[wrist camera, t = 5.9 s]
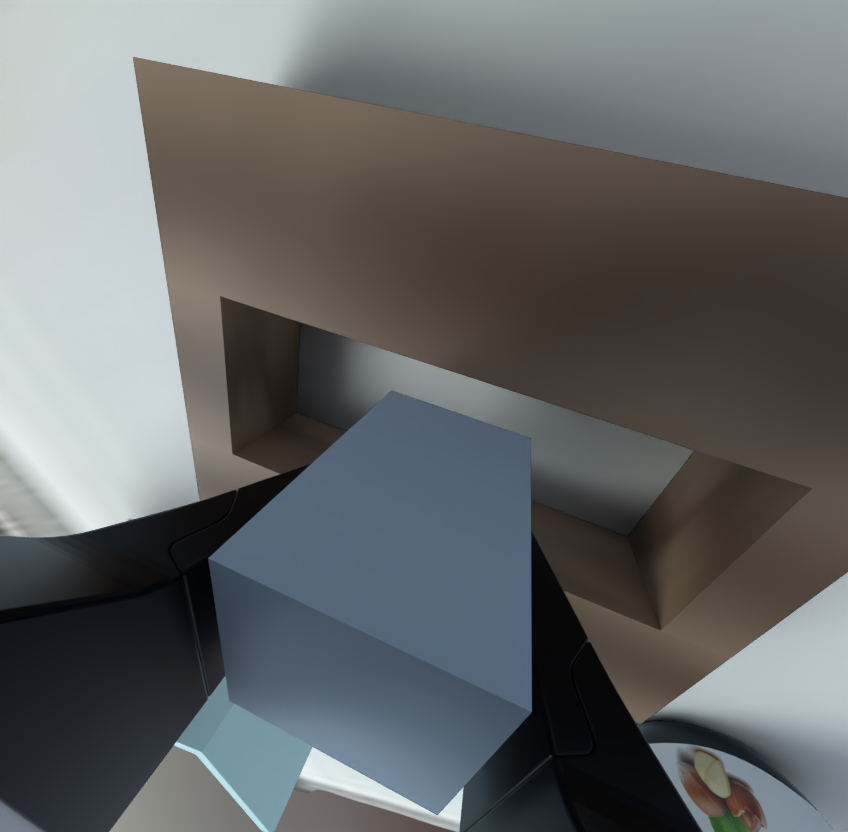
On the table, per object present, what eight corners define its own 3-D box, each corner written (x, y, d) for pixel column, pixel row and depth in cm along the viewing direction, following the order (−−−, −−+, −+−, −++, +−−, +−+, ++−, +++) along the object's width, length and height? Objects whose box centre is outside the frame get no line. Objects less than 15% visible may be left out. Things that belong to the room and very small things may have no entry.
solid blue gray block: (483, 539, 10) (437, 815, 5) (371, 494, 11) (229, 700, 6) (530, 438, 9) (530, 712, 3) (391, 390, 9) (208, 559, 4)
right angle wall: (181, 609, 30) (86, 703, 24) (283, 630, 26) (201, 752, 20) (233, 685, 35) (165, 783, 28) (326, 714, 31) (272, 835, 24)
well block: (616, 622, 16) (640, 724, 12) (263, 475, 19) (203, 523, 15) (939, 271, 8) (1249, 276, 5) (256, 121, 11) (132, 56, 8)
